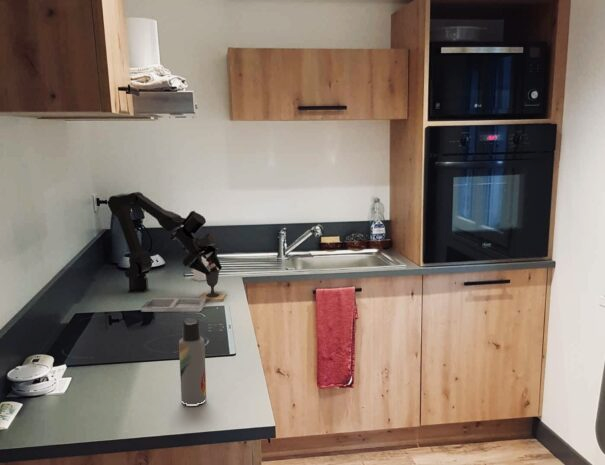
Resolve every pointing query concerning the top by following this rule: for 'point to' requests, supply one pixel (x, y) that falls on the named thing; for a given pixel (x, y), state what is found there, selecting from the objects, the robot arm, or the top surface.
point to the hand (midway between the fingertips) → (215, 271)
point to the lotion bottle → (192, 363)
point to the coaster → (213, 299)
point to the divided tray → (172, 305)
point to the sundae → (212, 278)
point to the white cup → (199, 275)
